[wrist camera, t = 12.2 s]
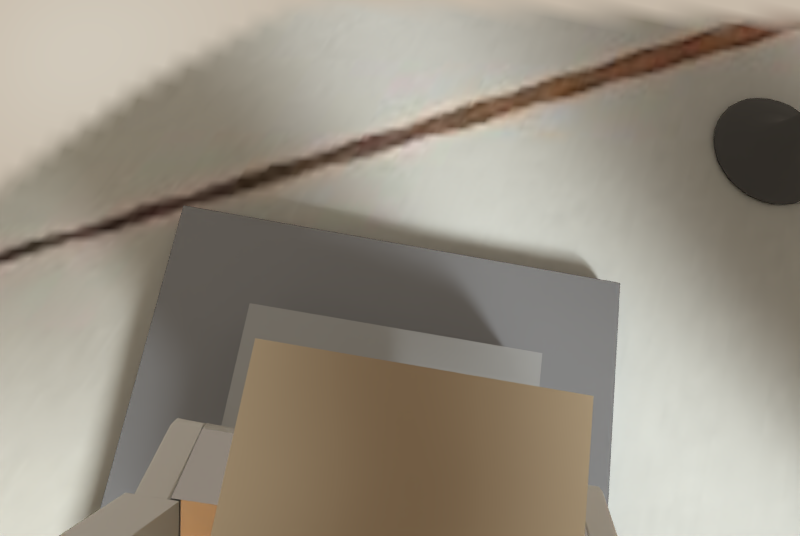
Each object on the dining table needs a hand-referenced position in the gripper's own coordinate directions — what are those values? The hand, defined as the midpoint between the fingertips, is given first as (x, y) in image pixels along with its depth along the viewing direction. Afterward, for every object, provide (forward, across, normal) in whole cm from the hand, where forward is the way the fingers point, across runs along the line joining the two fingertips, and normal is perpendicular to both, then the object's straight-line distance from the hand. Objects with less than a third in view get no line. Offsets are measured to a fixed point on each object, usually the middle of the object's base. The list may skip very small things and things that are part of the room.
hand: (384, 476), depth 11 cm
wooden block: (+3, 0, +4) cm, 4 cm away
